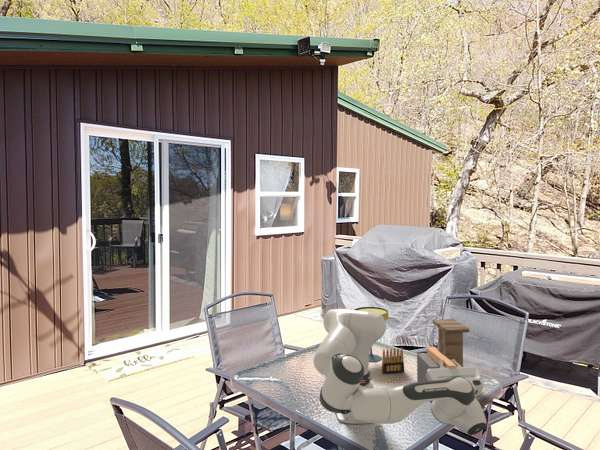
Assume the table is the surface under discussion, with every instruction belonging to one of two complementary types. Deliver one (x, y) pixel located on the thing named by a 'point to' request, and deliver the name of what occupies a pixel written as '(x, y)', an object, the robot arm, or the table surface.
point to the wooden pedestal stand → (451, 339)
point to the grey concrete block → (424, 366)
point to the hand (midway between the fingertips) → (446, 360)
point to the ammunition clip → (392, 362)
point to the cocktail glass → (385, 315)
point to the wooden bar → (440, 358)
